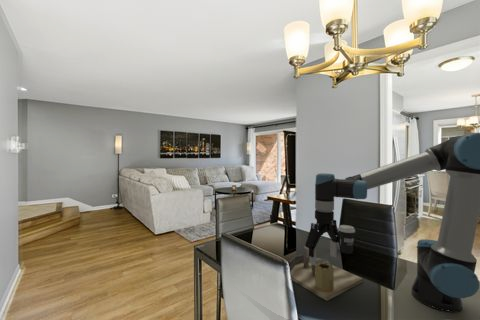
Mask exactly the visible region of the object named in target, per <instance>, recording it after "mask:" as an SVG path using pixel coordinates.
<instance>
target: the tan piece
mask: <svg viewBox="0 0 480 320" xmlns="http://www.w3.org/2000/svg"><path fill="white" fill-rule="evenodd" d="M332 265H333V264H331V265H330V264H328V263H323V262H319V263H316V265H315V287H316V289H318V290H320V291H321V292H331V291H333V290H334V268H333V266H334V265H333V266H332Z"/></svg>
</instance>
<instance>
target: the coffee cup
mask: <svg viewBox="0 0 480 320" xmlns="http://www.w3.org/2000/svg"><path fill="white" fill-rule="evenodd" d="M337 228H338V231H339V235H340V242H339V247H340V248H339V249H340V252H341V253H342V254H345V255H346V254H347V255H351V254H353V252H354V241H355V233H356V229H355V227H354V226H352V225H349V224H348V225H347V224H341V225H339V226H338V227H337Z"/></svg>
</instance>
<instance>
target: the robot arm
mask: <svg viewBox="0 0 480 320" xmlns="http://www.w3.org/2000/svg"><path fill="white" fill-rule="evenodd" d="M444 170H445V172H446V173H447V174H448V176H449V182H448V187H447V191H446V197H445V202H444V206H443V211H442V217H441V223H440V227H439V234H438V238H437V240H436V239H435V240H434V239H419V240H417V244H416V245H417V246H416V248H417V250H416V252H417V253H416V254H417V255H416V256H417V257H416V259H417V260H416V265H417V266H416V267H417V268H416V277H415V280H414V281H413V284H412V286H411V295H412V294H413V295H412V296H413V297H414V298H415V299H416V298H417V299H418V300H419V301H418V300H417V299H416V300H417V301H418V302H420V301H421V302H420V303H422V302H423V303H425V304H427V305H426V306H428V305H430V306H433V307H435V308H438V309H437V310H439V309H443V310H449V311H457V312H459V311H458V310H460V311H462V309H463V300H462V299H466V298H470V297H472V296H475V295H476V294H477V293H478V292H479V290H480V281H479V278H478V276H477V274H476V273H475V272H476V268H477V263H478V262H477V261H478V259H477V258H476V257H475V256H474V255H473V253H472V251H473V248H474V242H475V237H476V232H477V228H478V223H479V218H480V132H470V133H465V134H463V135H457V136H454V137H451V138H449V139H447V140H445V141H443V142H441V143H438V144H436V145H434V146H431V147H428V148H426V149H425V151H424V152H421V153H418V154H415V155H412V156H410V157H407V158H403V159H401V160H398V161H395V162H390V163H388V164H386V165H382V166H379V167H377V168H374V169H370V170H368V171H365V172H364V171H363V172H361V173H359V174H356V175H353V176H348V177H345V178H343V179H339V178H336V177H335V174H333V173H317V174H316V175H315V184H314V186H315V187H314V189H315V191H314V194H315V196H314V202H315V203H314V219H315V220H316V223H314V222H311V223H310V229H309V233H308V236H307V239H306V240H305V244H304V246H305V247H307V248H309V263H310V264H312V265H314V266H315V265H316V258H317V249H316V247H317V245H318V243H319V240H321V239H320V238H321V237H322V236H323V235H324V234H326V233H327V235H328V236H329V238H330V241H329V256H330V257H332V258H334V259H336V258H337V253H338V252H337V249H338V246H337V245H338V243H339V244H340V235H339V230H338V228H339V227H338V225H337V220H336V219H335V217H334V216H335V213H334V211H335V198H343V199H353V200H354V199H355V200H365V199H367V198H368V190H370V189H375V188H377V187H382V186H385V185H388V184H391V183H395V182H398V181H401V180H405V179H408V178H411V177H414V176H418V175H421V174H424V173H429V172H432V171H437V172H440V171H444ZM423 303H422V304H423ZM425 304H424V305H425ZM430 306H429V307H430ZM433 307H432V308H433ZM435 308H434V309H435ZM461 308H462V309H461ZM443 310H442V311H443ZM449 311H448V312H449Z"/></svg>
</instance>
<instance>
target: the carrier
mask: <svg viewBox="0 0 480 320" xmlns="http://www.w3.org/2000/svg"><path fill="white" fill-rule="evenodd" d="M319 262H323V263H328V264H330V261H329V260H328V259H326V258H323V257H316V263H319ZM288 263H289V266H290V270H291V277H292V280H291V281H292V282H294V283H296V284H297V285H299V286H301V287H303V288H304V289H306V290H308V291H309V292H311V293H313V294H314V295H316V296H317V297H320V298H321V299H322V300H325V301H326V302H328V301H330V300H331V299H334V298H335V297H338V296H339V295H341V294H343V293H345V292H346V291H347V292H348V291H349V290H350V289H352V288H355V287H356V286H358V285H360V284H361V283H364V279H363V277H361V276H358V275H356V274H353V273H351V272H349V271H346V270H345V269H342V268H340V267H338V266H335V265H333V264H330V265H332V266H333V268H334V290H333V291H331V292H321V291H320V290H318V289H316V287H315V266H314V265H312V264H310V263H309V248H307V247H305V245H303V253H302V252H301V253H299V254H296V255H294V256H292V257H290V259H289V260H288V261H287V264H288Z"/></svg>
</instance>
